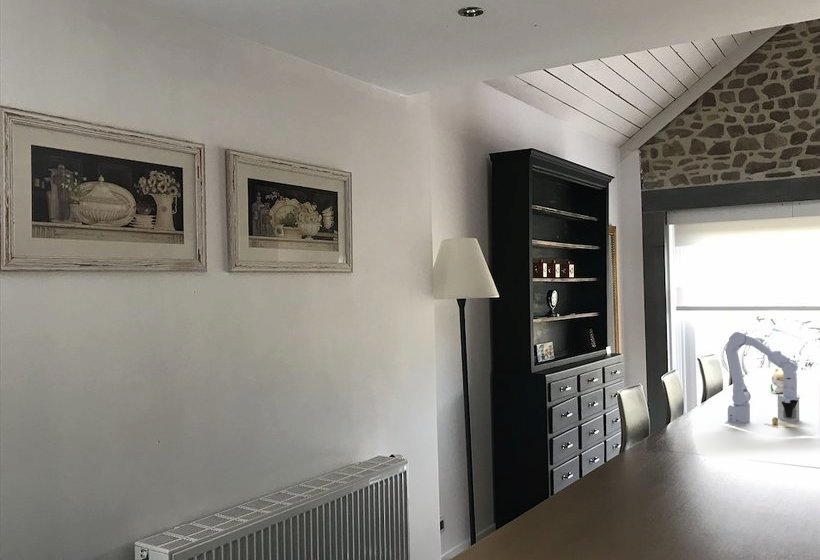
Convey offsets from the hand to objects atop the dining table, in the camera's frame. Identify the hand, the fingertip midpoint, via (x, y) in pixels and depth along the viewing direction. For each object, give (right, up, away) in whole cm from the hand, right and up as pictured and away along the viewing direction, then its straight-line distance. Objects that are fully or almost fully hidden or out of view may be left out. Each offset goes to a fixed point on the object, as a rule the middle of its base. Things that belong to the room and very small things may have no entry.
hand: (789, 416), depth 353 cm
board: (-3, -6, +1) cm, 6 cm away
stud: (-5, -5, +4) cm, 8 cm away
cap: (0, -1, 0) cm, 1 cm away
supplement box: (+8, -6, +17) cm, 20 cm away
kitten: (+48, -5, +107) cm, 118 cm away
